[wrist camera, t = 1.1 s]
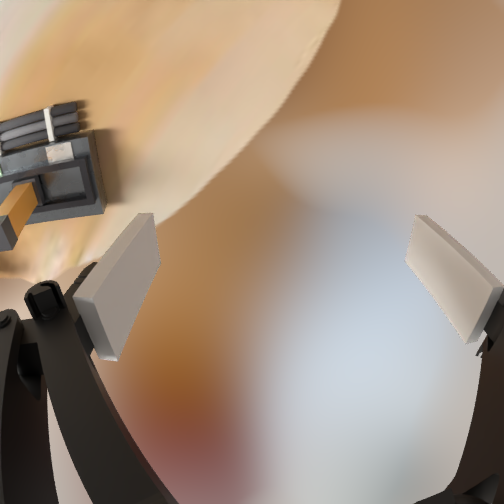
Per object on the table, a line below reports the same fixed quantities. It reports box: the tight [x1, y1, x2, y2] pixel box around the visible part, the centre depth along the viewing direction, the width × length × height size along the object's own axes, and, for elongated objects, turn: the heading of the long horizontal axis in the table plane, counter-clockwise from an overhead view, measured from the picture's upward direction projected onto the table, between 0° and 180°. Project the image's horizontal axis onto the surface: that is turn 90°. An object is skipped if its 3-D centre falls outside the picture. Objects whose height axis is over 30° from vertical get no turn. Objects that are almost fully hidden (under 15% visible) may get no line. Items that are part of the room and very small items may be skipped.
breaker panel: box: [0, 130, 107, 225], centre depth 33 cm, size 22×12×4 cm, turn 86°
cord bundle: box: [0, 102, 80, 155], centre depth 28 cm, size 18×5×2 cm, turn 86°
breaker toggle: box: [0, 175, 45, 252], centre depth 28 cm, size 4×4×11 cm
